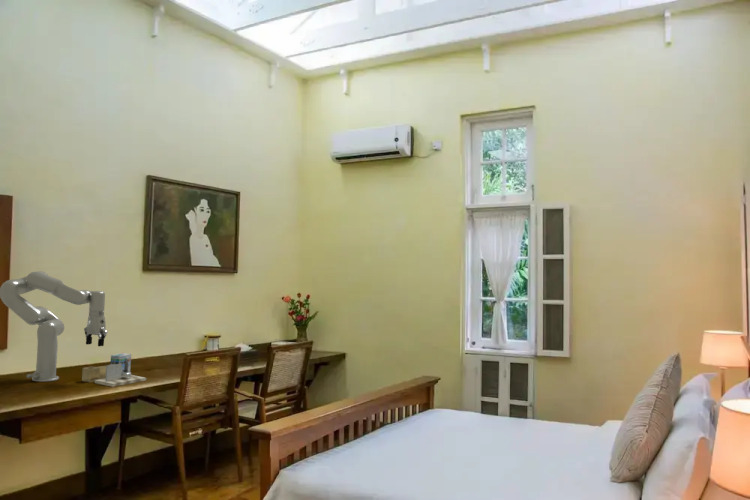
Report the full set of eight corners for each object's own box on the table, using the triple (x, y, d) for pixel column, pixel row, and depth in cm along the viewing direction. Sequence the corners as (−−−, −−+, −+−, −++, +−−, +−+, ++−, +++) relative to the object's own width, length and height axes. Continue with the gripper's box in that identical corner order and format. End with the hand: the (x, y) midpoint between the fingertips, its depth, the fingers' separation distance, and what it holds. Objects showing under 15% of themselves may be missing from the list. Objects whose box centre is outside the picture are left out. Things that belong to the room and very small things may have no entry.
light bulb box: (119, 375, 342) (120, 356, 342) (109, 373, 343) (110, 355, 343) (130, 371, 352) (131, 353, 353) (120, 370, 354) (121, 352, 354)
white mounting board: (112, 386, 311) (112, 383, 311) (94, 383, 318) (94, 380, 318) (145, 380, 331) (146, 377, 331) (128, 377, 337) (128, 374, 337)
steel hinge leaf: (109, 382, 315) (110, 362, 315) (102, 380, 317) (103, 361, 317) (133, 378, 328) (134, 359, 329) (126, 376, 331) (127, 357, 331)
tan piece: (89, 382, 318) (90, 369, 318) (81, 380, 321) (82, 367, 321) (111, 378, 331) (112, 366, 331) (104, 377, 334) (104, 364, 334)
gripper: (113, 314, 323) (111, 346, 323) (91, 312, 331) (90, 342, 331) (101, 315, 317) (99, 347, 316) (79, 312, 325) (78, 344, 324)
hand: (94, 345), depth 324 cm, fingers open, 9 cm apart
